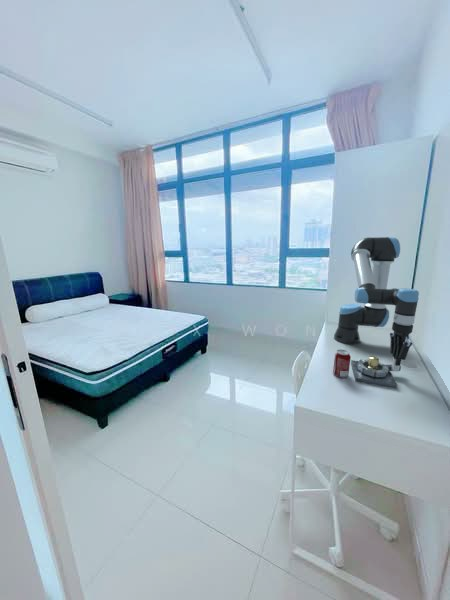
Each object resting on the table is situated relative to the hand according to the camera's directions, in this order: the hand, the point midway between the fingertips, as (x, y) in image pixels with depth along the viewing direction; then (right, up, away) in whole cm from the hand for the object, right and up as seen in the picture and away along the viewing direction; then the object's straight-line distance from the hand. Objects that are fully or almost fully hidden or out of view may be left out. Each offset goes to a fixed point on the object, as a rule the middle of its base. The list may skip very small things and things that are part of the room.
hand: (394, 370), depth 116 cm
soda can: (-25, -3, +3) cm, 25 cm away
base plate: (-10, -3, +2) cm, 10 cm away
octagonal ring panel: (-6, 0, +2) cm, 7 cm away
